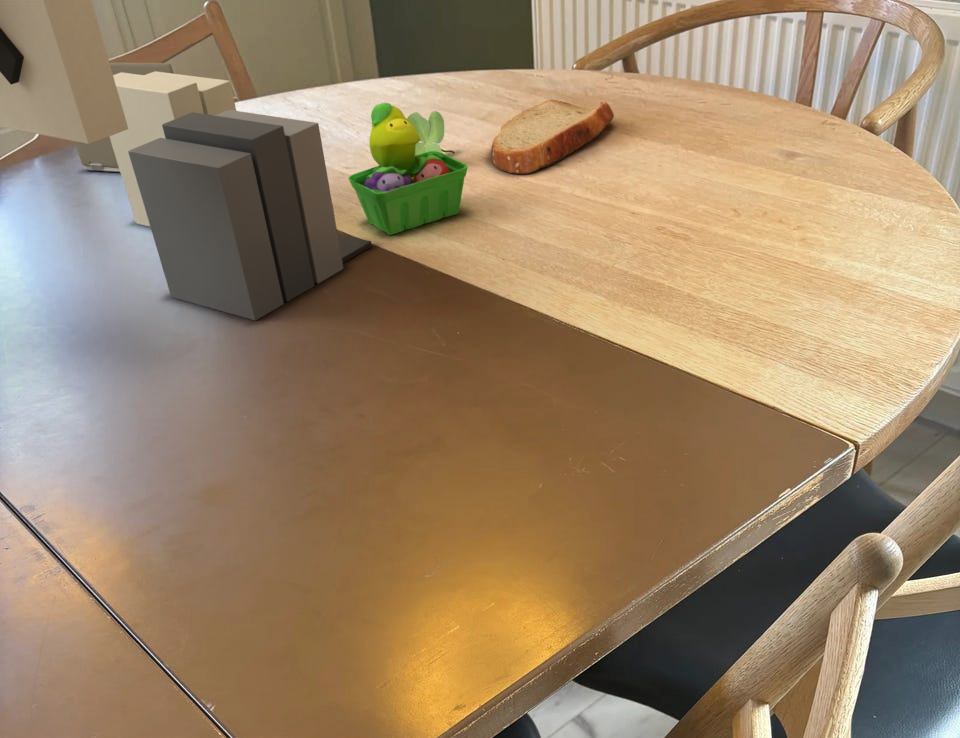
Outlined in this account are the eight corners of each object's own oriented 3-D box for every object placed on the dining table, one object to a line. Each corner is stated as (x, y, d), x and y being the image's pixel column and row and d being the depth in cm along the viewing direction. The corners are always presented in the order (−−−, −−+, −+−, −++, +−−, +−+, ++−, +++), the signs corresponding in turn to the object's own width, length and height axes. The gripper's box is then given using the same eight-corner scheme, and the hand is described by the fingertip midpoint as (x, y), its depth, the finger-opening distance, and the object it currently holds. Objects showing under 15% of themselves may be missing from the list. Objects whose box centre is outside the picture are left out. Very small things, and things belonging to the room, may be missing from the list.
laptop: (248, 145, 137) (224, 35, 128) (199, 178, 129) (169, 63, 120) (137, 140, 143) (106, 35, 134) (83, 172, 134) (47, 62, 125)
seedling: (446, 201, 130) (414, 188, 124) (423, 148, 131) (390, 133, 126) (487, 165, 126) (456, 149, 120) (463, 110, 127) (431, 93, 122)
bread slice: (503, 178, 120) (501, 145, 117) (469, 134, 133) (466, 103, 130) (647, 154, 122) (648, 121, 120) (599, 113, 135) (599, 82, 133)
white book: (89, 144, 79) (20, -73, 69) (-2, 126, 85) (-77, -77, 75) (128, 129, 81) (67, -83, 72) (38, 112, 87) (-30, -87, 77)
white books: (206, 240, 113) (167, 92, 103) (135, 223, 119) (92, 82, 108) (293, 196, 121) (265, 55, 111) (223, 182, 127) (190, 47, 117)
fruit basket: (384, 242, 108) (368, 129, 101) (348, 219, 114) (330, 111, 107) (475, 214, 112) (465, 103, 105) (434, 193, 118) (423, 86, 110)
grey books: (255, 321, 97) (215, 155, 87) (171, 297, 102) (124, 139, 92) (379, 248, 108) (356, 93, 97) (296, 230, 113) (267, 82, 103)
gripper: (-293, -240, 68) (-48, 55, 72) (-68, -261, 78) (138, 0, 81) (-283, -141, 74) (-58, 127, 78) (-75, -172, 84) (117, 68, 87)
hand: (42, 62), depth 80 cm, fingers closed on white book, 4 cm apart
